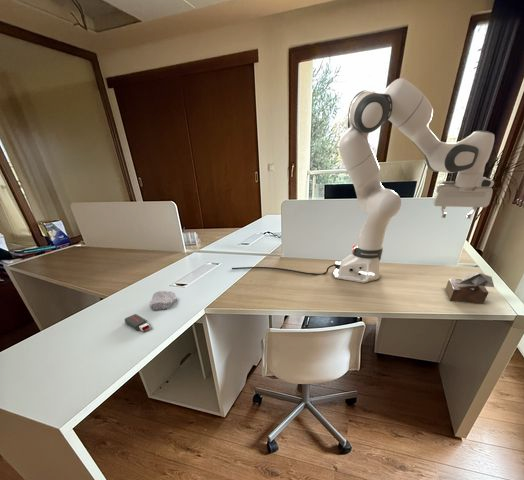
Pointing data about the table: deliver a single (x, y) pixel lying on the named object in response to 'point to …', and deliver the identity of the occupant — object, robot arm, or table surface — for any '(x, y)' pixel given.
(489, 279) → the paper boat
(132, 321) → the usb drive
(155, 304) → the stone block
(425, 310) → the table surface
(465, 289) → the walnut block
